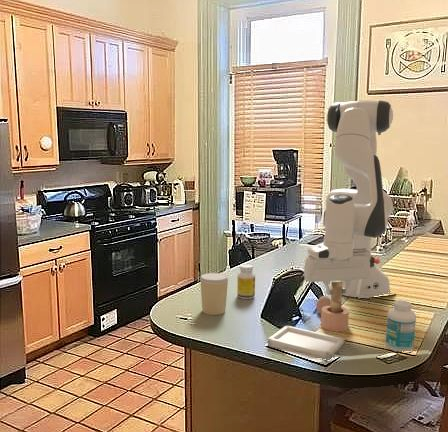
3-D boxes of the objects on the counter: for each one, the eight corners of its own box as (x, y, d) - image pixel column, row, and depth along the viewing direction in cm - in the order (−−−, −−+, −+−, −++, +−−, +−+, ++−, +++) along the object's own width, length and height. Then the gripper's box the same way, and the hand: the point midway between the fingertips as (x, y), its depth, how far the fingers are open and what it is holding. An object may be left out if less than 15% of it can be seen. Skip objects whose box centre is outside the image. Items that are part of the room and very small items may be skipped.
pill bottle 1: (253, 300, 179) (254, 268, 177) (235, 298, 180) (236, 267, 178) (255, 294, 185) (256, 264, 183) (238, 293, 186) (239, 263, 184)
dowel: (338, 314, 155) (339, 280, 153) (342, 318, 152) (344, 283, 150) (328, 315, 154) (329, 281, 152) (332, 319, 151) (334, 284, 149)
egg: (319, 312, 167) (320, 292, 166) (334, 315, 165) (334, 295, 164) (313, 316, 163) (314, 296, 162) (328, 319, 160) (329, 299, 159)
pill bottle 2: (380, 344, 142) (383, 298, 140) (406, 343, 143) (409, 298, 141) (391, 355, 135) (395, 307, 133) (418, 354, 135) (422, 307, 133)
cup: (341, 323, 158) (342, 304, 157) (352, 332, 150) (353, 313, 149) (317, 324, 156) (317, 306, 155) (326, 334, 148) (327, 315, 147)
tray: (344, 346, 140) (344, 338, 140) (328, 362, 130) (329, 354, 130) (286, 332, 150) (286, 325, 149) (267, 345, 140) (267, 338, 139)
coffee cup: (231, 308, 170) (232, 274, 168) (222, 317, 161) (222, 281, 160) (205, 304, 173) (206, 271, 171) (195, 313, 164) (195, 278, 163)
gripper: (365, 245, 154) (363, 288, 157) (302, 248, 150) (301, 292, 153) (375, 250, 148) (373, 295, 150) (310, 253, 144) (308, 299, 147)
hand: (336, 293), depth 152 cm, fingers closed on dowel, 3 cm apart
